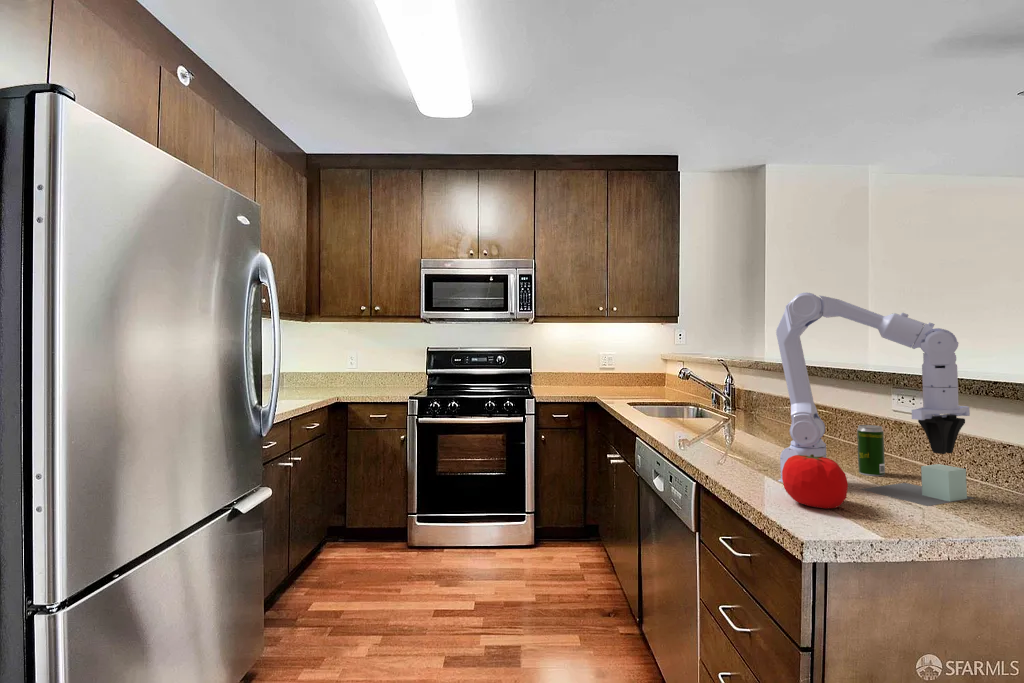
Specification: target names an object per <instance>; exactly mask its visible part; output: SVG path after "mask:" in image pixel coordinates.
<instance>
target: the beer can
mask: <svg viewBox="0 0 1024 683" xmlns="http://www.w3.org/2000/svg"><path fill="white" fill-rule="evenodd" d="M856 434H857V436H856V438H857V463H858V464H857V468H858V473H859V474H860V475H863V476H866V477H884V476H885V474H886V470H885V469H886V468H885V467H886V465H885V436H884V434H885V433H884V430H883V426H881V425H876V424H875V425H874V424H858V425H857V430H856Z"/></svg>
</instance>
